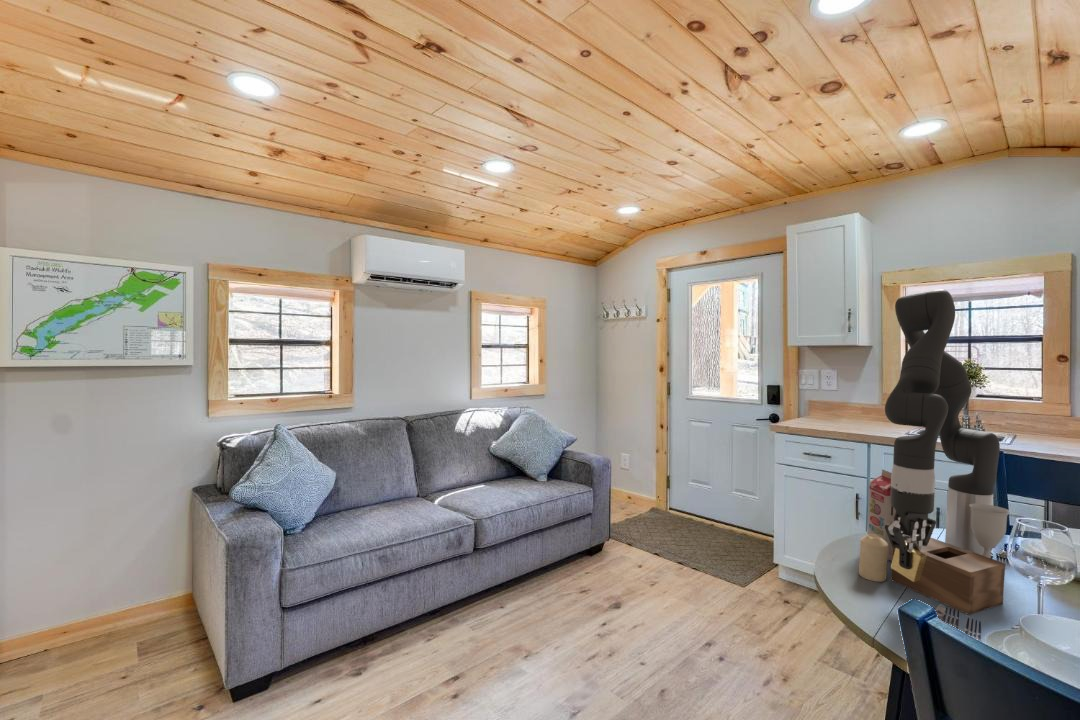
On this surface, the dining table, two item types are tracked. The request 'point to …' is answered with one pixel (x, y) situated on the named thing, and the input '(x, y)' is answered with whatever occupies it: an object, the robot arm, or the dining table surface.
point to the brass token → (916, 565)
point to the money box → (958, 578)
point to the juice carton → (881, 508)
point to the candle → (873, 558)
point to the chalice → (988, 525)
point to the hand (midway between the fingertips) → (908, 566)
